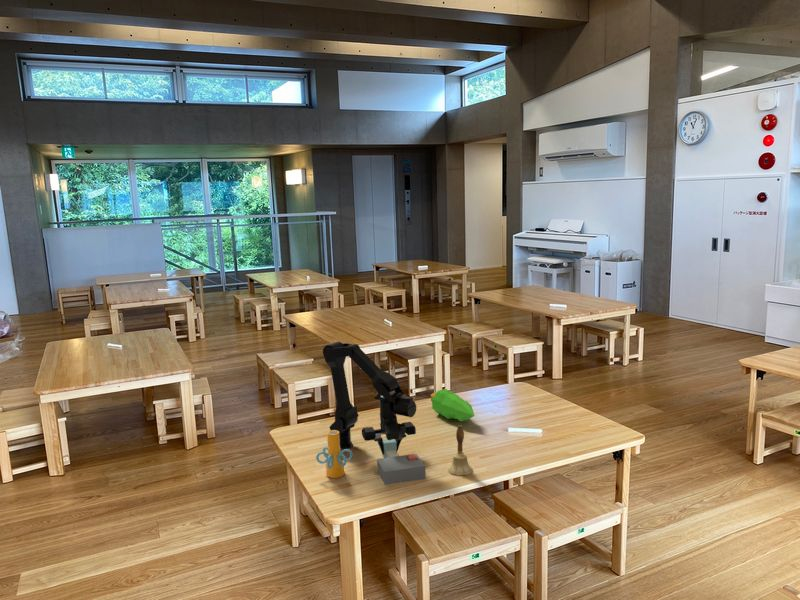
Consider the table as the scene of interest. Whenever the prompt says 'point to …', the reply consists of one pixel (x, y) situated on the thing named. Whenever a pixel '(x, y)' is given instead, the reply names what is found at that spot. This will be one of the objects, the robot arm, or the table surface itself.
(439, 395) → the decorative tree
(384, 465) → the housing
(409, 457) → the plunger
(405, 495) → the table surface
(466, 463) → the hand bell
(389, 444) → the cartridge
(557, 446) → the table surface
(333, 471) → the orange vase with handles
